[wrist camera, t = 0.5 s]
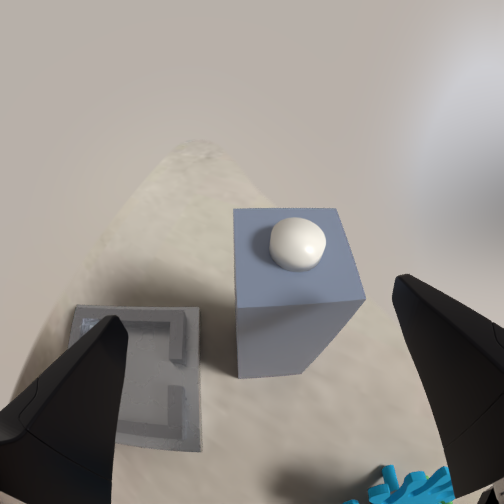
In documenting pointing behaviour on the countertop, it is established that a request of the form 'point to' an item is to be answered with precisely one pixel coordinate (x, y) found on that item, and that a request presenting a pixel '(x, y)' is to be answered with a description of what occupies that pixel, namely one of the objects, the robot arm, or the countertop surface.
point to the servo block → (290, 287)
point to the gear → (412, 488)
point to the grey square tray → (155, 374)
